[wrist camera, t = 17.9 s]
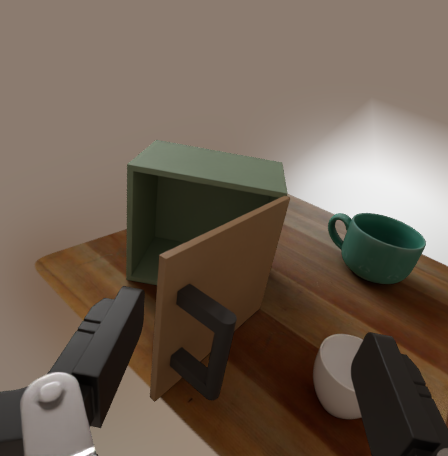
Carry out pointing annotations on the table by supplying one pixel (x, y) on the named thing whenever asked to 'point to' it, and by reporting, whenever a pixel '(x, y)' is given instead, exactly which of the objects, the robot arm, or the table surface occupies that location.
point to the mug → (378, 246)
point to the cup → (337, 376)
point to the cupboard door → (211, 297)
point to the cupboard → (189, 198)
